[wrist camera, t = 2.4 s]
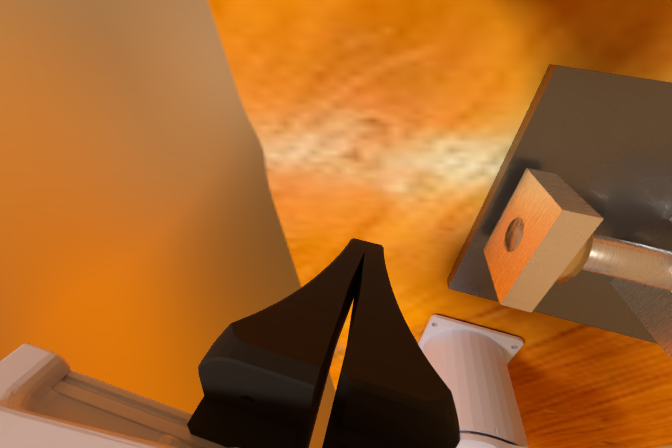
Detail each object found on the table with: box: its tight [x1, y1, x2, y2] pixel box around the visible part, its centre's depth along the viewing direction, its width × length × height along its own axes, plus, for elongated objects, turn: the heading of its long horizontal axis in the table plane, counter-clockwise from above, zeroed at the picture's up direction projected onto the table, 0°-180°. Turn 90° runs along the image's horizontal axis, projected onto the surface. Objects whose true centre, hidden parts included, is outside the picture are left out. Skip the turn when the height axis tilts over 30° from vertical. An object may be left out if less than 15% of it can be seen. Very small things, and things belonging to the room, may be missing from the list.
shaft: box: [483, 168, 672, 313], centre depth 15 cm, size 6×13×5 cm, turn 83°
